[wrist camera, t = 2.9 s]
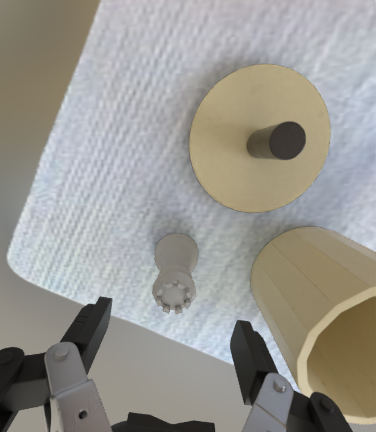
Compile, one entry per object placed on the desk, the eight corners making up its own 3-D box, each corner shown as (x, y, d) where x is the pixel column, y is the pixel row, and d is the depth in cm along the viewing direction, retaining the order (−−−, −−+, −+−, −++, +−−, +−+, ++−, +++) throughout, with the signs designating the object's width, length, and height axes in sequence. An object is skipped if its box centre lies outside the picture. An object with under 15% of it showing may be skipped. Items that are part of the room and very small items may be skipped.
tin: (268, 216, 23) (337, 265, 13) (371, 238, 24) (513, 301, 14) (238, 310, 26) (273, 412, 16) (331, 327, 27) (422, 433, 16)
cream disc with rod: (206, 52, 19) (218, -1, 12) (343, 88, 20) (421, 57, 13) (176, 195, 22) (174, 212, 16) (296, 221, 23) (340, 247, 17)
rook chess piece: (158, 272, 24) (146, 328, 16) (152, 233, 23) (137, 273, 15) (199, 268, 24) (207, 322, 16) (196, 229, 23) (202, 267, 15)
